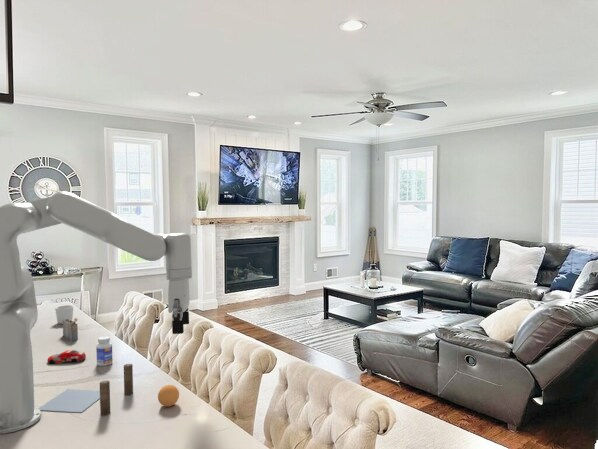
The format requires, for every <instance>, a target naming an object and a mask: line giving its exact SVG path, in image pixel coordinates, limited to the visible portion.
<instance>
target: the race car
mask: <svg viewBox="0 0 598 449" xmlns="http://www.w3.org/2000/svg"><path fill="white" fill-rule="evenodd" d="M86 358H87V357H86V353H85V351H81V350H76V349H75V350H74V349H72V350H71V349H70V350H64V351H62V352H61V353H56V354H52V355H50V356H48V357H47V359H46V360H47V364H50V365H54V364H70V363H72V364H75V363H79V362H83V361H84V360H85V359H86Z"/></svg>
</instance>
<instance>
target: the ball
mask: <svg viewBox="0 0 598 449" xmlns="http://www.w3.org/2000/svg"><path fill="white" fill-rule="evenodd" d="M179 398H180V390H179V389H178V388H177V387H176V386H175V385H173V384H166V385H164V386H163V387H161V389H159V390H158V393H157V399H158V402H159V404H160V405H161V406H163V407H172V406H173V405H175V404H176V403H177V402H178V400H179Z"/></svg>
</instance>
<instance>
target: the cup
mask: <svg viewBox="0 0 598 449" xmlns="http://www.w3.org/2000/svg"><path fill="white" fill-rule="evenodd" d="M54 311H55V317H56V323H58V324H60V325H63V320H65V319H69V323H70V320H72V321H73V317H74V316H73V314H74V305H70V304H69V305H60V306H56V307H55V310H54Z"/></svg>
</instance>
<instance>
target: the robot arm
mask: <svg viewBox="0 0 598 449" xmlns="http://www.w3.org/2000/svg"><path fill="white" fill-rule="evenodd" d="M60 224H64V225H66V226H68V227H69V228H70V227H71V228H73V229H75V230H77V231H80V232H82V233H85V234H87V235H88V236H91V237H94V238H95V239H98V240H100V241H101V242H103V243H106V244H109V245H111V246H114V247H116V248H118V249H120V250H121V251H124V252H126V253H129V254H130V255H133V256H136V257H138V258H140V259H142V260H146V261H147V262H148V261H149V262H155V261H158V260H161V259H162V258H163V257H165V266H166V267H165V271H166V272H165V274H166V280H167V281H168V289H167V291H168V296H167V297H168V300H167V303H168V305H167V306H168V307H167V310H168V313H169V314H172V315H171V331H172V335H179V334H180V335H181V334H184V332H185V328H184V325H189V324H190V315H189V314H190V311H189V307H190V282H189V280H190V279H192V278H193V275H192V274H193V272H192V271H193V270H192V266H193V265H192V244H191V243H192V242H191V241H192V240H191V236H190V234H188V233H186V232H175V233H174V232H173V233H172V232H171V233H169V234H165V233H155V232H154V233H152V232H150V231H147V230H144V229H143V228H141V227H138V226H137V225H134V224H132V223H130V222H128V221H126V220H125V219H123V218H122V217H120V216H119V215H118V214H116V213H114V212H113V211H110V210H108V209H106V208H104V207H102V206H99V205H97V204H95V203H93V202H91V201H88V200H86V199H84V198H82V197H79V196H78V195H77V194H75V193H73V192H68V191H58V192H55V193H53V194H52V195H51V196H48V197H43V198H39V199H34V200H30V201H25V202H9V203H6V204H4V205H1V206H0V434H9V433H15V432H18V431H20V430H24V429H26V428H29V427H31V426H33V425H35V424H36V423H37V422H38V421H40V419H41V418H42V411H40V410H39V409H38V408H36V407H35V389H34V386H35V383H34V362H33V361H34V358H33V356H34V355H33V346H32V339H31V338H32V337H31V330H32V329H33V328H34V327H35V325H36V324H37V321H38V315H39V314H38V312H39V311H38V304H37V303H38V302H37V297H36V290H35V284H34V279H33V276H32V274H31V272H30V270H29V269H28V268H26V267H25V266H23V265H21V258H20V250H19V246H18V243H17V239H18V236H20V235H21V234H26V233H30V232H33V231H34V232H35V231H37V230H42V229H45V228H49V227H52V226H57V225H60Z"/></svg>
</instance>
